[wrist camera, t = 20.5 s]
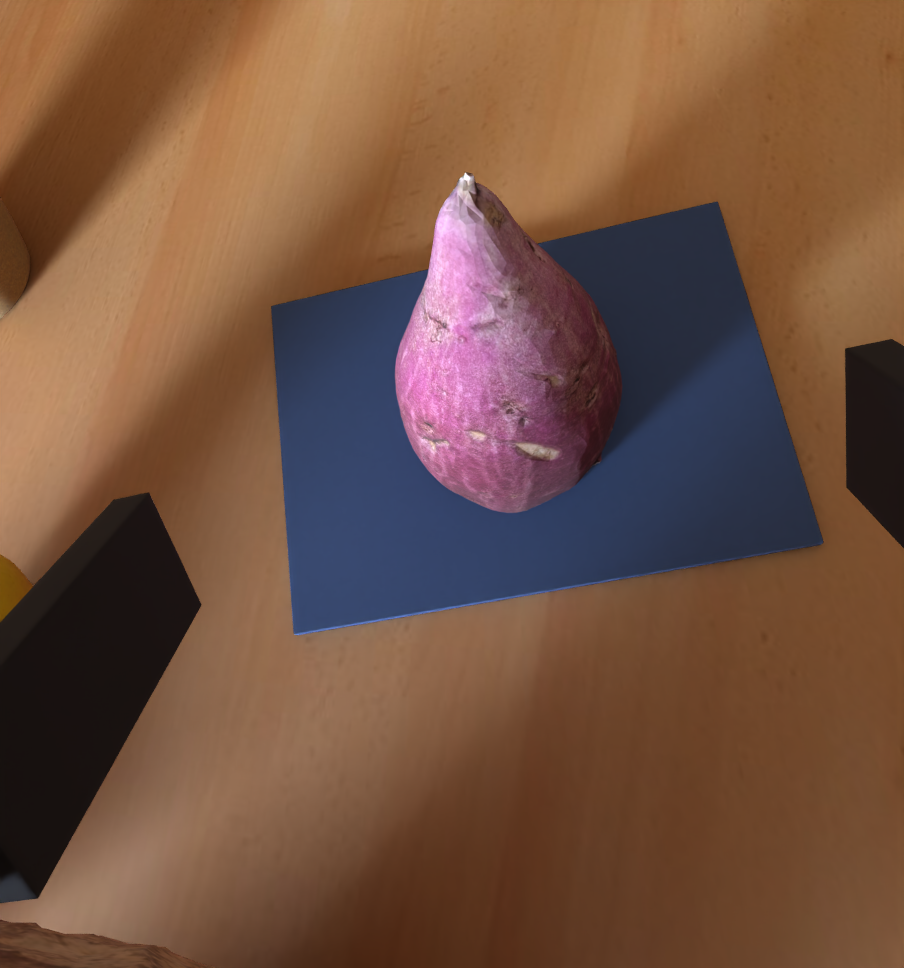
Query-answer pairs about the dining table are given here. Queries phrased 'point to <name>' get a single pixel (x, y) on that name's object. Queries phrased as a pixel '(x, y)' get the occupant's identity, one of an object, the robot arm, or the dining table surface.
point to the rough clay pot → (79, 950)
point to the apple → (11, 586)
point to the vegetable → (503, 362)
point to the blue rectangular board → (574, 513)
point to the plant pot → (11, 262)
